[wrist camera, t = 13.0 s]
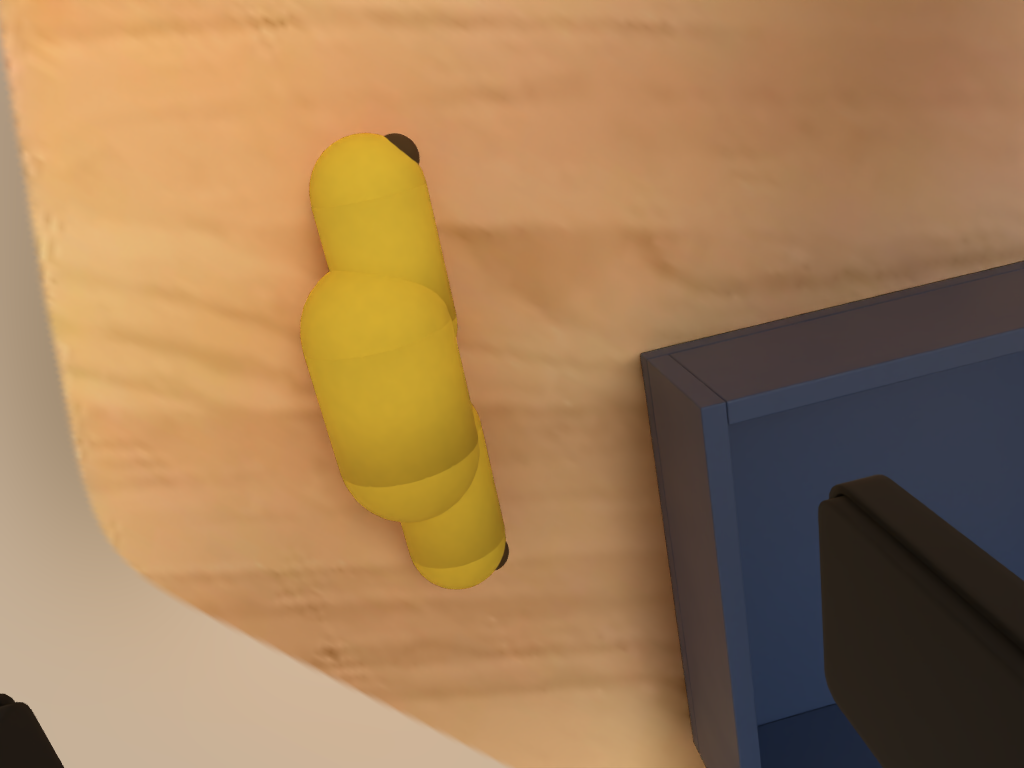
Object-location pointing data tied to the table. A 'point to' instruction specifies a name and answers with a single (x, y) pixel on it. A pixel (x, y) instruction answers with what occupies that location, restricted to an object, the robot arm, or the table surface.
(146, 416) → the table surface
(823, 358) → the blue shallow open box
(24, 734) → the robot arm
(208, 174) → the table surface
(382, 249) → the yellow lobed rod
